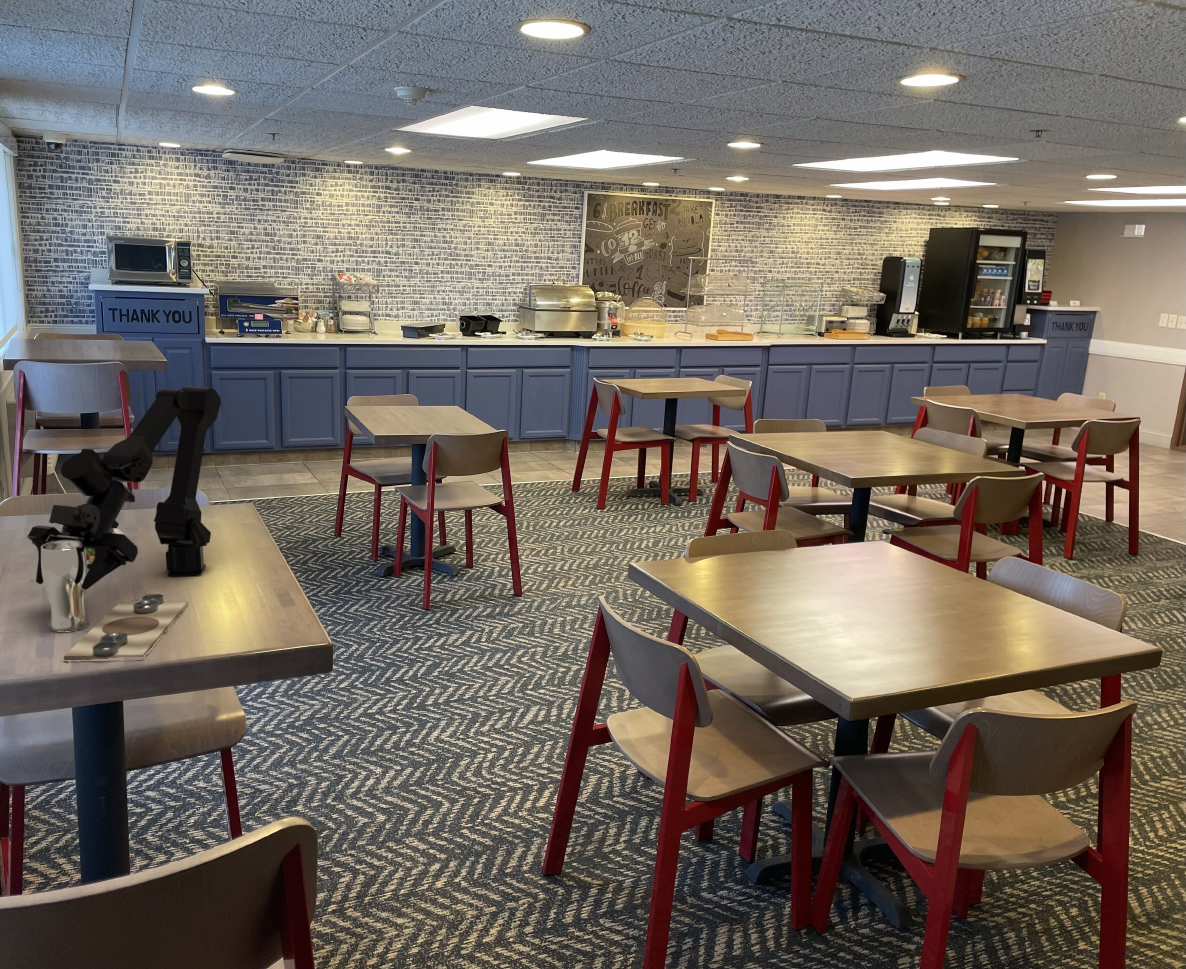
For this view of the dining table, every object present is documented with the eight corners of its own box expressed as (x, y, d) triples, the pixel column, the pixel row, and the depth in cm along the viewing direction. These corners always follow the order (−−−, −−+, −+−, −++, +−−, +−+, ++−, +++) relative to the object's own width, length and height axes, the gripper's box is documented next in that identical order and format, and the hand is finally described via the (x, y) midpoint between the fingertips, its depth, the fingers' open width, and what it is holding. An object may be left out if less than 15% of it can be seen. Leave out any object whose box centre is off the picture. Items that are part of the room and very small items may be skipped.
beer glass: (81, 616, 172) (74, 537, 168) (98, 626, 167) (92, 545, 164) (40, 626, 166) (32, 544, 163) (57, 636, 162) (49, 553, 159)
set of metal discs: (144, 600, 178) (144, 590, 178) (167, 599, 179) (166, 590, 178) (88, 657, 152) (87, 647, 151) (114, 657, 152) (113, 646, 152)
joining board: (121, 606, 177) (120, 601, 177) (188, 605, 179) (187, 600, 179) (64, 662, 152) (63, 655, 152) (142, 660, 154) (142, 654, 153)
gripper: (30, 481, 167) (-15, 558, 159) (122, 490, 164) (80, 569, 155) (67, 514, 177) (26, 588, 168) (155, 523, 173) (117, 599, 165)
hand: (60, 585), depth 164 cm, fingers open, 9 cm apart
